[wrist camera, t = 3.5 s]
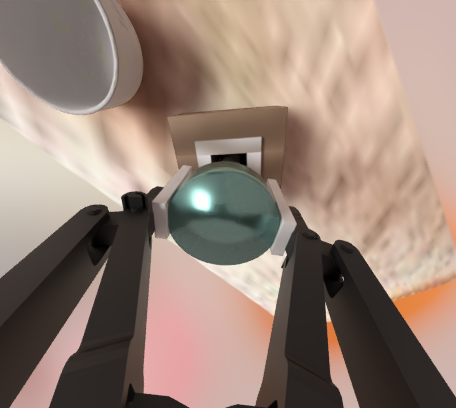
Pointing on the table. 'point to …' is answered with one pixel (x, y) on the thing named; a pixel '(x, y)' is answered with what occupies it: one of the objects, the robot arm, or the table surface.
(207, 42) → the table surface
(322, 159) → the table surface
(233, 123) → the block
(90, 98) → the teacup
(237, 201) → the teal rounded knob
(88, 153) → the table surface
